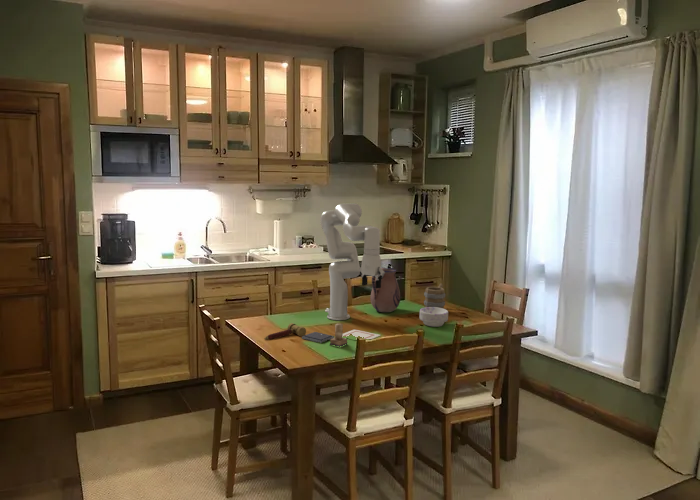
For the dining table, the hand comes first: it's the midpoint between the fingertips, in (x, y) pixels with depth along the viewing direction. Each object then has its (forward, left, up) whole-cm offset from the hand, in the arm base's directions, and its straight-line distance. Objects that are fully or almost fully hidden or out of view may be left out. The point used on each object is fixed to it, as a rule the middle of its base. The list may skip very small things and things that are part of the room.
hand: (371, 286), depth 280 cm
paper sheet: (-3, -6, -25) cm, 25 cm away
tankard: (+3, +66, -25) cm, 71 cm away
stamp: (-2, -24, -25) cm, 34 cm away
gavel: (-32, -29, -25) cm, 50 cm away
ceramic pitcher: (-20, +44, -25) cm, 54 cm away
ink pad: (-16, -22, -25) cm, 36 cm away
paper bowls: (+16, +37, -25) cm, 48 cm away
